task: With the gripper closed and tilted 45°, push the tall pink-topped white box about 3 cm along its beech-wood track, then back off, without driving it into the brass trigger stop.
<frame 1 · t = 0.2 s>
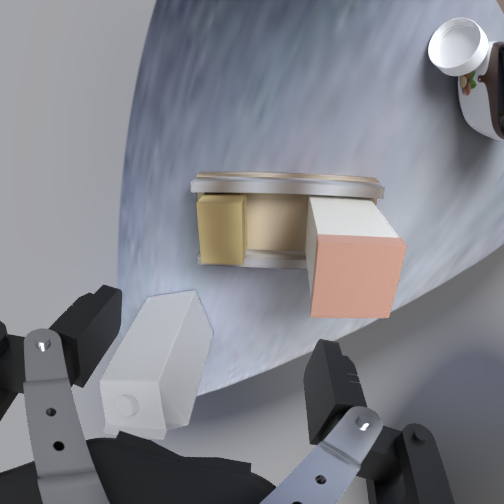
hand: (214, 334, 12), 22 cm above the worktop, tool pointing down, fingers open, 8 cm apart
spread jar: (467, 78, 24), on the worktop
key track: (296, 215, 33), on the worktop
milk carton: (181, 313, 41), on the worktop
pink-topped white box: (345, 248, 26), point 7 cm above the worktop, slide at 0.0 cm
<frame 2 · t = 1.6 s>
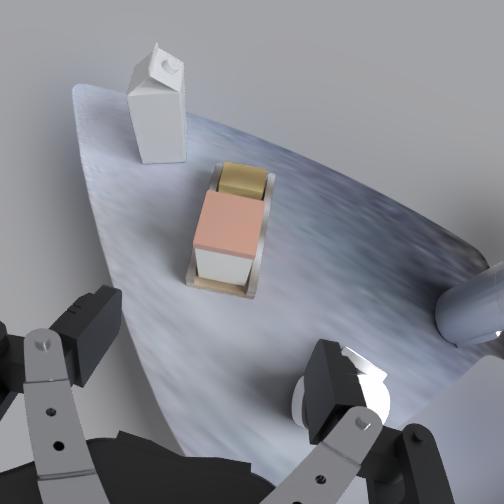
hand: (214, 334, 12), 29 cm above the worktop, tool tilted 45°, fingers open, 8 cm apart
spread jar: (331, 388, 39), on the worktop
key track: (231, 238, 45), on the worktop
milk carton: (165, 148, 51), on the worktop
pink-topped white box: (227, 243, 37), point 7 cm above the worktop, slide at 0.0 cm
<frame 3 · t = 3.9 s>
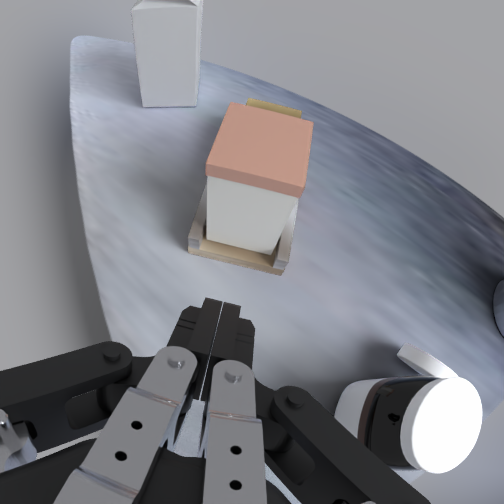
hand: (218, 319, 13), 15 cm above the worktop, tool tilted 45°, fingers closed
spread jar: (382, 401, 27), on the worktop
key track: (251, 195, 34), on the worktop
milk carton: (172, 93, 39), on the worktop
pink-topped white box: (253, 186, 25), point 7 cm above the worktop, slide at 0.0 cm
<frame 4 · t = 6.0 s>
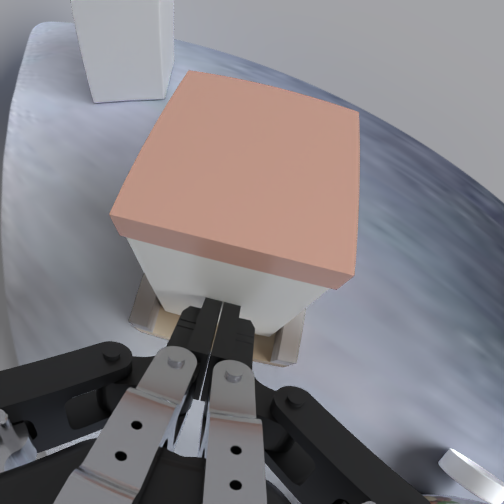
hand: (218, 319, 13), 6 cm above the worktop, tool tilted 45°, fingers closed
key track: (239, 235, 22), on the worktop
milk carton: (136, 82, 27), on the worktop
pink-topped white box: (237, 233, 14), point 7 cm above the worktop, slide at 0.4 cm, touching gripper
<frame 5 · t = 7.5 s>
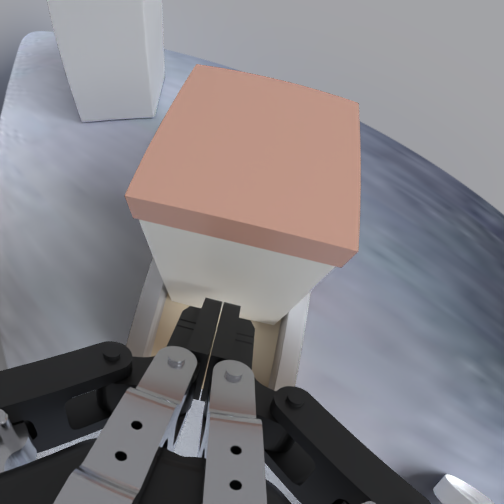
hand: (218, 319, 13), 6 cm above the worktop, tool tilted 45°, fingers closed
key track: (233, 267, 21), on the worktop
milk carton: (125, 98, 27), on the worktop
pink-topped white box: (243, 221, 14), point 7 cm above the worktop, slide at 3.4 cm
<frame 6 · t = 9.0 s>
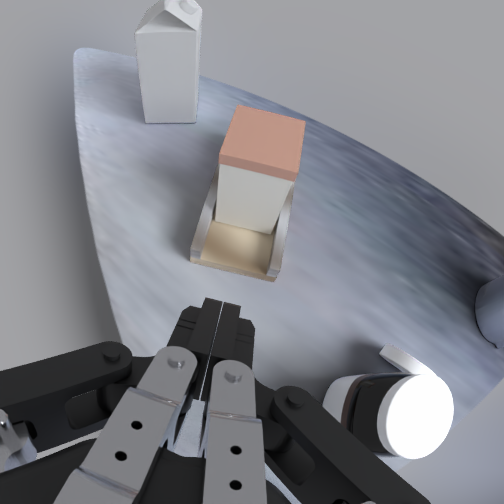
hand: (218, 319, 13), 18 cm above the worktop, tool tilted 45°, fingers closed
spread jar: (366, 395, 30), on the worktop
key track: (247, 208, 37), on the worktop
milk carton: (173, 108, 42), on the worktop
pink-topped white box: (255, 174, 30), point 7 cm above the worktop, slide at 3.4 cm
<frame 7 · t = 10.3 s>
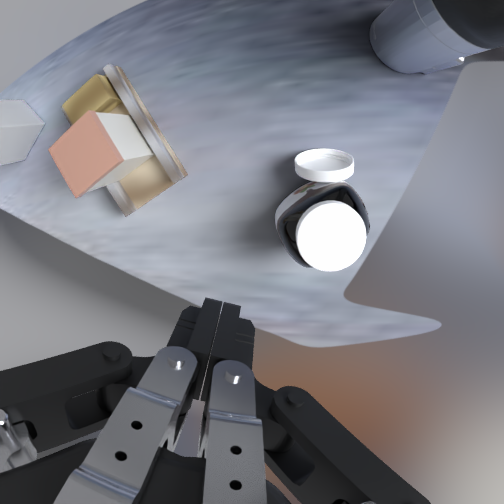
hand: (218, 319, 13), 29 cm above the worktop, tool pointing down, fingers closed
spread jar: (314, 194, 40), on the worktop
key track: (129, 143, 38), on the worktop
milk carton: (24, 129, 38), on the worktop
pink-topped white box: (106, 150, 32), point 7 cm above the worktop, slide at 3.4 cm
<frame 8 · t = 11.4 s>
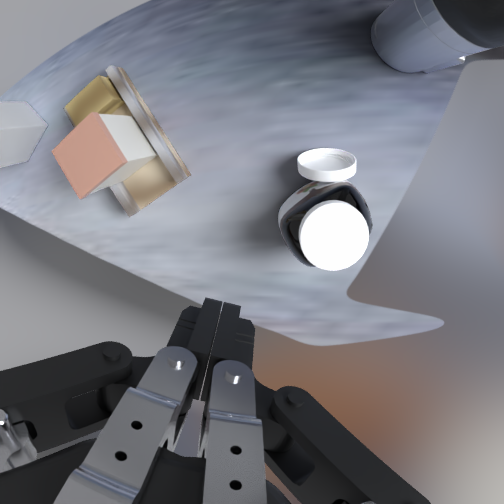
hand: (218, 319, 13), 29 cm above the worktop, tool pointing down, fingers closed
spread jar: (317, 193, 40), on the worktop
key track: (132, 144, 39), on the worktop
milk carton: (27, 131, 38), on the worktop
pink-topped white box: (109, 151, 32), point 7 cm above the worktop, slide at 3.4 cm
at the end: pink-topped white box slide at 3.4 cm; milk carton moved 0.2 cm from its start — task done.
